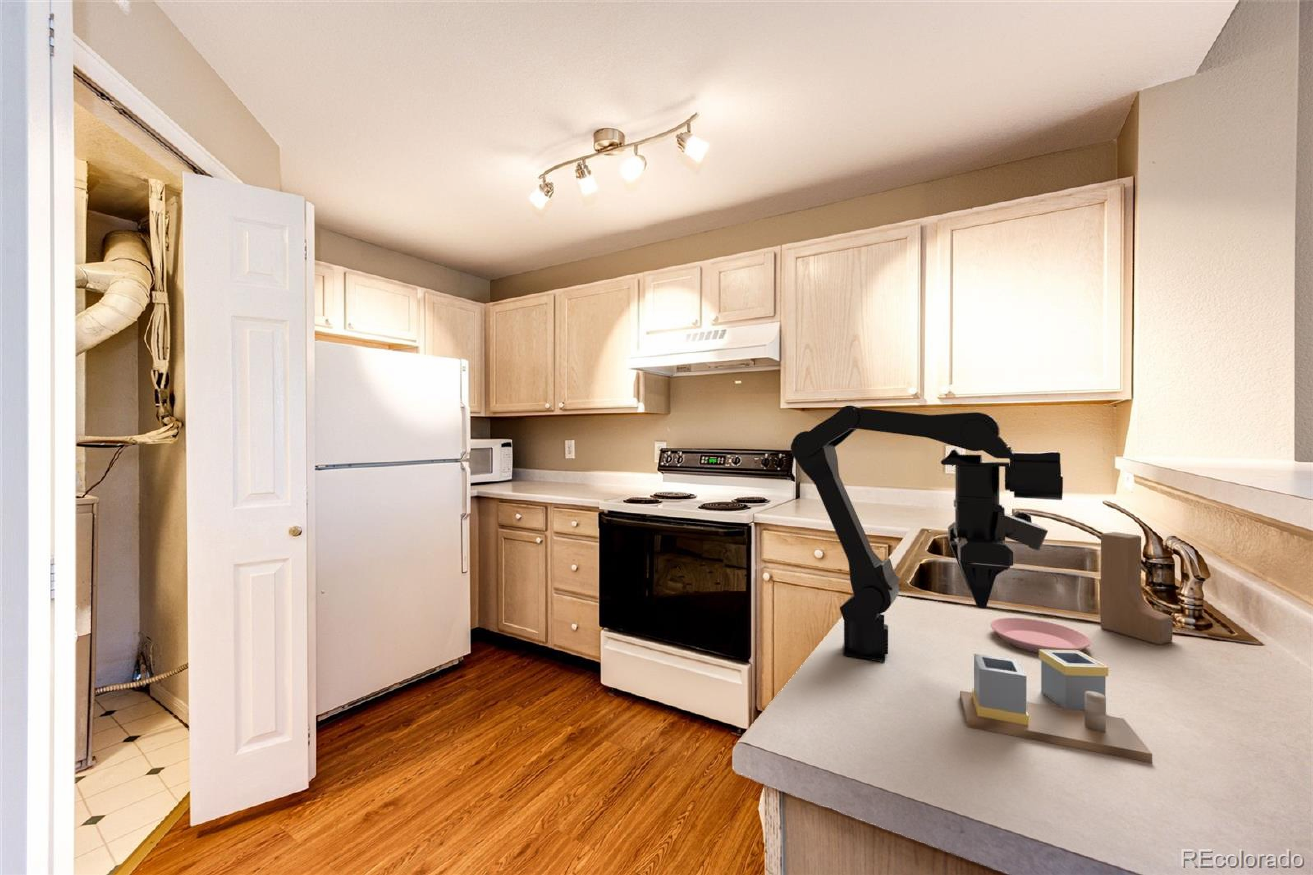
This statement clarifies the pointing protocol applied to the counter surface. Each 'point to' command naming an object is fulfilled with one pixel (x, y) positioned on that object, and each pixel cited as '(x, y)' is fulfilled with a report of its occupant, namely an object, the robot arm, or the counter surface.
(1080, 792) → the counter surface
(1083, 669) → the sleeve band up
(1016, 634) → the plate
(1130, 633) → the wooden block
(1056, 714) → the pin board
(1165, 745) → the counter surface
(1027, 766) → the counter surface
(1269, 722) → the counter surface
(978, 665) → the sleeve band down
